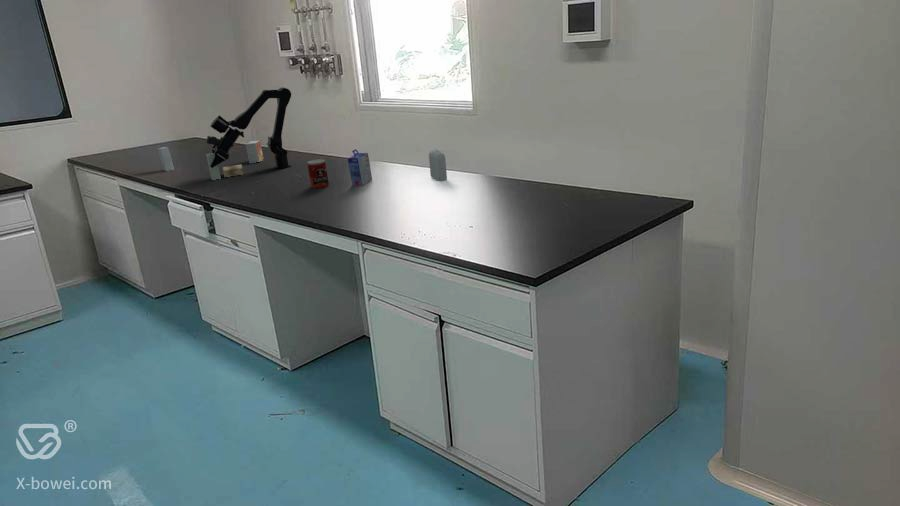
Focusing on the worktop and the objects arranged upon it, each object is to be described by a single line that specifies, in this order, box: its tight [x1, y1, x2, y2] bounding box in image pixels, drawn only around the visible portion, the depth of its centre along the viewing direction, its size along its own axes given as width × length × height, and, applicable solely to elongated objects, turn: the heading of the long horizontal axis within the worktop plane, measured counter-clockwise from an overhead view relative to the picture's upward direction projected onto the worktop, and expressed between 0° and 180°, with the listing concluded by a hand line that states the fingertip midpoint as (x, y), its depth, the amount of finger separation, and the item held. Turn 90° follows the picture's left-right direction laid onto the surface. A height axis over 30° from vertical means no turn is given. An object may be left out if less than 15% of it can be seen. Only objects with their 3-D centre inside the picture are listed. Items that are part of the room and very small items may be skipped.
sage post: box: [205, 152, 222, 181], centre depth 303 cm, size 4×5×12 cm
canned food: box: [307, 158, 329, 189], centre depth 272 cm, size 8×8×11 cm
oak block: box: [222, 164, 244, 178], centre depth 310 cm, size 9×9×4 cm
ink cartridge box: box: [347, 149, 373, 187], centre depth 270 cm, size 10×6×14 cm, turn 161°
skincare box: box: [157, 146, 175, 172], centre depth 334 cm, size 6×4×12 cm
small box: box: [245, 140, 264, 164], centre depth 336 cm, size 8×6×10 cm
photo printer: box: [428, 149, 448, 182], centre depth 266 cm, size 10×4×12 cm, turn 25°
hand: (210, 165), depth 303 cm, fingers open, 8 cm apart
